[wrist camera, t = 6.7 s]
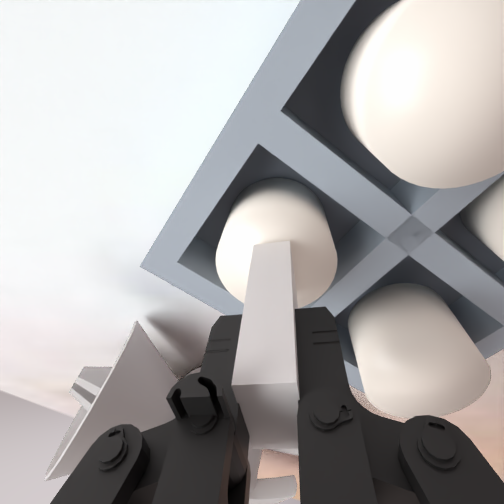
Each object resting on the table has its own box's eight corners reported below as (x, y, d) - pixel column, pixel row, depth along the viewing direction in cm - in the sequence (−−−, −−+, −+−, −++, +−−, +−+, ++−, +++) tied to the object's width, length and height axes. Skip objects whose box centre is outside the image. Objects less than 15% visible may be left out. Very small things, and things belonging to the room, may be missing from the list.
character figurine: (75, 380, 27) (260, 456, 32) (0, 503, 20) (256, 576, 25) (131, 289, 21) (346, 399, 27) (53, 416, 14) (375, 535, 19)
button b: (328, 326, 18) (339, 387, 14) (400, 265, 15) (434, 323, 12) (393, 365, 19) (417, 431, 15) (468, 315, 16) (517, 380, 13)
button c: (311, 102, 12) (324, 116, 8) (422, -52, 9) (503, -119, 6) (406, 180, 13) (450, 220, 10) (526, 61, 11) (641, 59, 7)
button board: (165, 230, 19) (139, 266, 15) (396, -147, 11) (451, -249, 7) (378, 359, 23) (394, 410, 20) (662, 164, 15) (776, 193, 11)
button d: (211, 233, 17) (194, 274, 14) (265, 156, 15) (261, 183, 11) (285, 279, 18) (285, 328, 15) (346, 216, 16) (364, 256, 13)
